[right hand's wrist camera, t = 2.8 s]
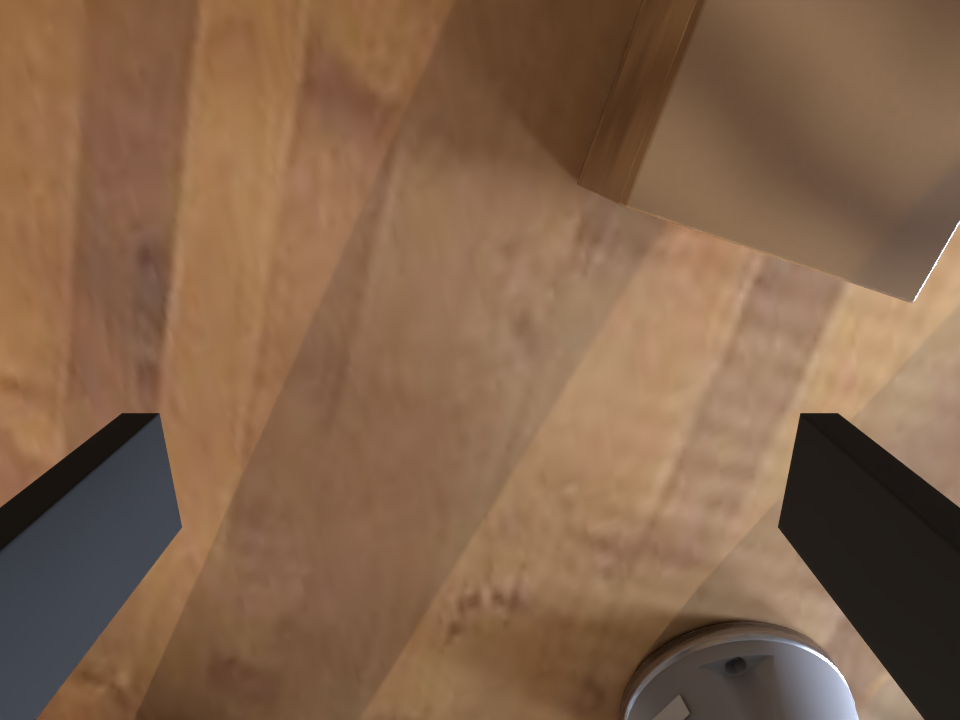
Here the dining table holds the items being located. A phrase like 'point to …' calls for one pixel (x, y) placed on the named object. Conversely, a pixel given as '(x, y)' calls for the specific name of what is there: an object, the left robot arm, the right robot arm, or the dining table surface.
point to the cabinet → (793, 130)
